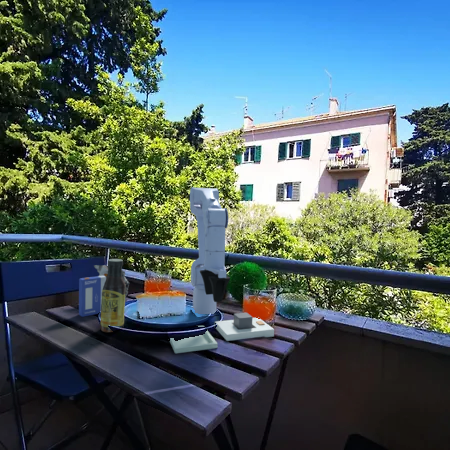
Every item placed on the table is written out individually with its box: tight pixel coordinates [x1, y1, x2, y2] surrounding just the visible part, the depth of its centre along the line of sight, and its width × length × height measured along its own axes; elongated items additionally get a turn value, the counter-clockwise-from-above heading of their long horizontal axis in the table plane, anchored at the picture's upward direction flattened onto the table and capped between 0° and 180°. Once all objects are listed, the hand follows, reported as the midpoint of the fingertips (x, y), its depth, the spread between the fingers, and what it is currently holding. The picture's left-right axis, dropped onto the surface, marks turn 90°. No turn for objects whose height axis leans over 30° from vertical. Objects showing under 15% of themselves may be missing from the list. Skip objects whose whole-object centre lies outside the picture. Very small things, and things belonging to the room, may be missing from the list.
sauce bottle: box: [100, 258, 126, 333], centre depth 88 cm, size 7×6×20 cm
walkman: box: [78, 275, 106, 318], centre depth 101 cm, size 8×3×12 cm, turn 135°
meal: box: [93, 264, 130, 303], centre depth 112 cm, size 15×4×13 cm, turn 65°
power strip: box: [214, 317, 275, 342], centre depth 89 cm, size 10×14×2 cm
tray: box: [169, 325, 219, 354], centre depth 82 cm, size 13×11×2 cm
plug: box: [233, 312, 253, 330], centre depth 89 cm, size 4×4×5 cm
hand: (213, 297), depth 90 cm, fingers open, 7 cm apart
